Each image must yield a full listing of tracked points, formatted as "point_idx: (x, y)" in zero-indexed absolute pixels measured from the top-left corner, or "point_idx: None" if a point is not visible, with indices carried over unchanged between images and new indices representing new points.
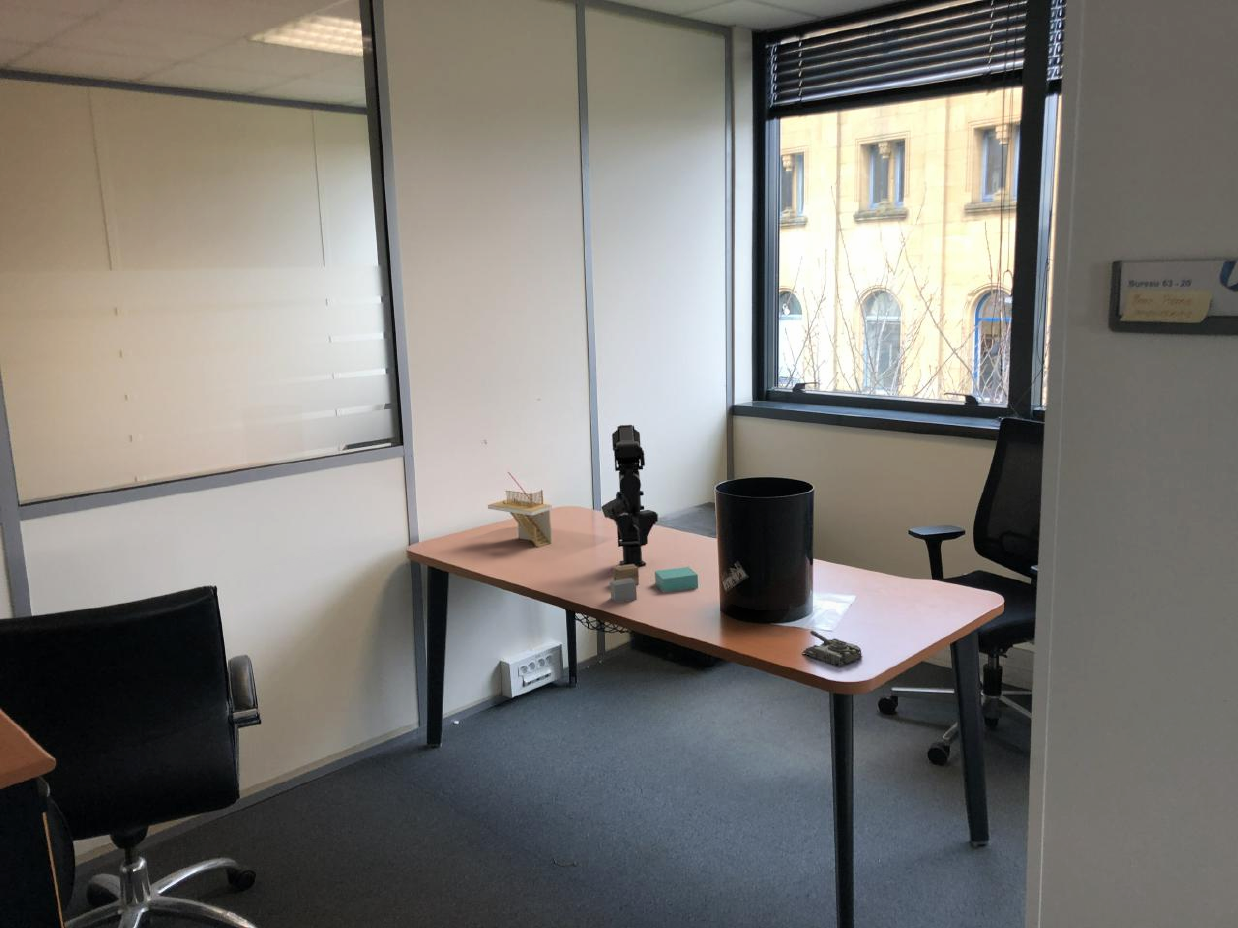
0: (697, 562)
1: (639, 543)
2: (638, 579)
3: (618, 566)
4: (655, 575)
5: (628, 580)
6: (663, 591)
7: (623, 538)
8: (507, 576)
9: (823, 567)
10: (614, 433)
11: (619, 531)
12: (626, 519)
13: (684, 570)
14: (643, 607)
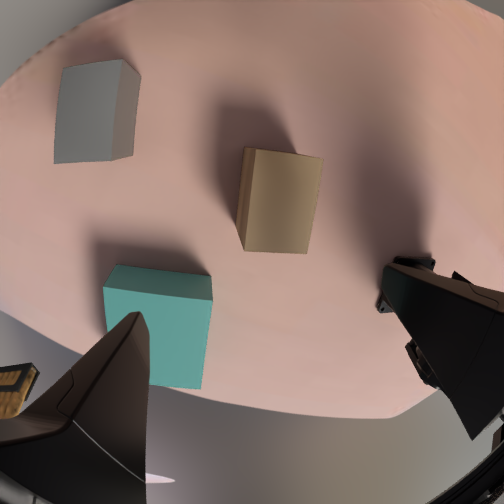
0: (306, 400)
1: (128, 322)
2: (237, 230)
3: (314, 181)
4: (205, 291)
5: (83, 138)
6: (116, 264)
7: (389, 275)
8: (468, 11)
9: (164, 477)
10: None
11: (442, 279)
12: (471, 393)
13: (168, 371)
14: (20, 155)
